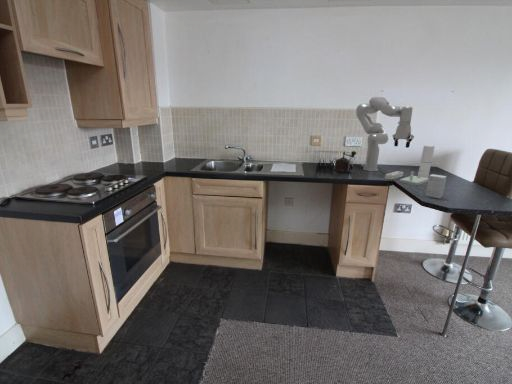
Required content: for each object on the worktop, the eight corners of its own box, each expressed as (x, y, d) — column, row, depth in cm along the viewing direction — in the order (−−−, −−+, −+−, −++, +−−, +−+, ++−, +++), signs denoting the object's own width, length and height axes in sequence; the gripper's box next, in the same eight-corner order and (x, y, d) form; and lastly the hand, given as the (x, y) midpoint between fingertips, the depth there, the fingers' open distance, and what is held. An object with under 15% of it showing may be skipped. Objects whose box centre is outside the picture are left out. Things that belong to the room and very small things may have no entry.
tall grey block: (422, 179, 217) (429, 146, 210) (415, 176, 224) (421, 145, 217) (430, 178, 219) (436, 146, 212) (422, 176, 226) (429, 145, 219)
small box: (442, 196, 173) (447, 176, 169) (440, 198, 169) (444, 177, 165) (427, 193, 178) (431, 173, 175) (425, 195, 174) (429, 175, 170)
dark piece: (334, 171, 237) (336, 149, 232) (337, 169, 247) (339, 148, 241) (353, 173, 230) (356, 151, 225) (355, 171, 240) (358, 150, 235)
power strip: (384, 178, 215) (385, 174, 214) (396, 175, 228) (397, 171, 227) (391, 180, 212) (392, 175, 211) (402, 176, 224) (403, 172, 223)
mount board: (399, 182, 206) (401, 171, 204) (411, 177, 220) (413, 167, 218) (416, 185, 198) (419, 174, 195) (428, 181, 211) (430, 170, 209)
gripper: (391, 123, 216) (388, 146, 221) (412, 124, 201) (408, 148, 206) (397, 123, 220) (394, 145, 224) (418, 124, 205) (415, 147, 209)
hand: (401, 146), depth 215 cm, fingers open, 9 cm apart
